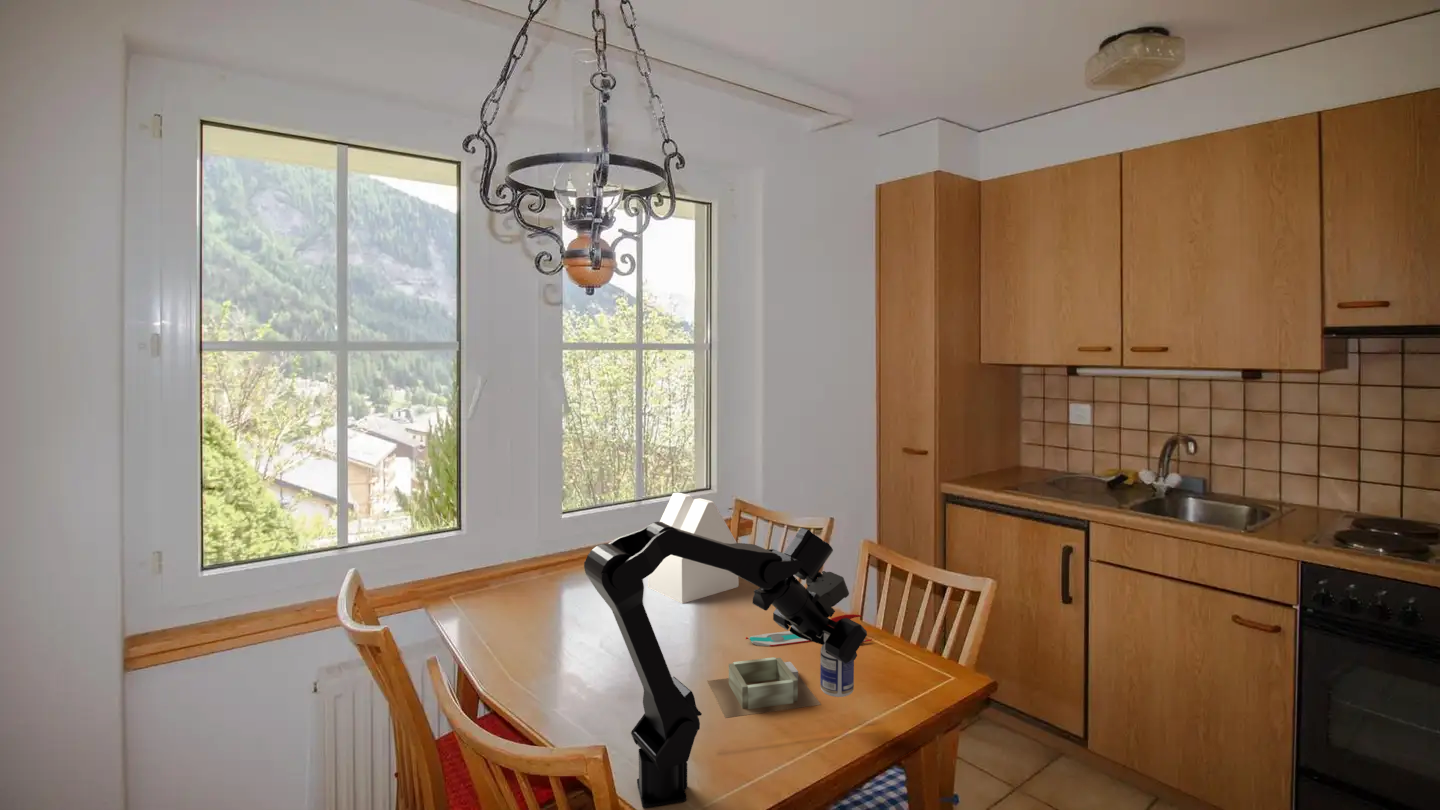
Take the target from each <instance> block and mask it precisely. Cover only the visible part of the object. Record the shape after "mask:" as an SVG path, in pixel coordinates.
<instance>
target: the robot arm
mask: <svg viewBox="0 0 1440 810" xmlns="http://www.w3.org/2000/svg"><path fill="white" fill-rule="evenodd" d="M833 552H834V549H833V548H832V546H831V545H830V544H829V542H827V541H824V540H823V539H822V538H820V537H819V536H818V535H816V534H814V533H813V532H812V531H811V530H810V529H808V528H805V527H800V528H799V530H798V531H797V533H796V535H795V537H794V538H793V540H792V541H791V542H790V544H789V545H788V546H787V548H786V549H785V551H784V552H781V551H779V550H777V549H774V548H770V549H767V548H765V547H761V546H759V545H757V544H755V543H754V544H753V543H744V542H743V543H742V542H737V543H734V544H728V543H723V542H719V541H716V540H713V539H710V538H706V537H703V536H700V535H696V534H693V533H690V532H687V531H683V530H680V529H677V528H674V527H671V526H669V525H667V524H665V523H663V522H660V521H655V522H654V521H653V522H651V523H649V524H648V525H646V526H644V527H643V528H641V529H639V530H635V531H633V532H631V533H630V532H629V533H627V534H624V535H621V536H619V537H617V538H615V539H613V540H611V541H610V542H608V543H600V544H598V545H596V546H594V547H593V548H592V549H591V550H590V552H589V553H588V554H587V557H586V559H585V560H584V563H583V568H584V572H585V575H586V576H587V578H588V579H589V581H590V582H591V584H592V585H593V587H594V589H595V591H596V592H597V593H598V594H599V596H601V598H602V599H603V601H604V602H605V603H606V604H607V606H608V607H609V609H610V610H611V611H612V614H613V616H614V619H615V621H616V624H617V626H618V629H619V631H620V634H621V635H622V638H623V641H624V643H625V645H626V646H625V647H626V648H627V651H628V654H629V655H630V658H631V661H632V663H633V665H634V668H635V671H636V672H637V676H638V677H639V681H640V683H641V685H642V688H643V697H642V705H643V711H644V714H643V715H642V717H641V718H640V719H639V720H638V721H637V723H636V724H635V725H634V727H633V729H632V730H631V732H630V734H631V737H632V740H633V741H634V744H635V745H637V746H638V747H639V749H638V778H637V779H636V784H637V789H638V794H639V798H640V799H639V800H640V803H641V807H642V808H647V809H648V808H651V807H659V806H665V805H669V804H676V803H683V802H686V801H687V793H686V790H687V789H688V761H689V760H690V755H691V752H692V749H693V746H694V741H695V739H696V736H697V734H698V731H699V730H700V729H701V722H700V718H699V716H700V717H701V716H702V712H701V711H700V710H699V709H698V707H697V705H696V699H695V695H694V693H693V691H692V690H691V689H690V688H688V687H687V686H686V685H685V684H684V683H682V682H681V681H680V680H679V679H678V678H676V677H675V676H672V674H671V672H670V670H669V669H670V668H669V667H668V664H667V662H666V659H665V657H664V654H663V652H662V648H661V646H660V644H659V642H658V639H657V636H656V633H655V632H654V628H653V625H652V624H651V621H650V619H649V616H648V613H647V611H646V608H645V606H644V591H645V585H644V579H645V578H648V576H649V575H650V574H652V573H653V572H654V571H655V569H656V568H657V567H658V566H659V565H660V563H661V562H662V561H663V560H664V559H665V558H666V557H668V556H669V555H674V556H678V557H681V558H685V559H689V560H692V561H696V562H699V563H703V564H706V565H710V566H713V567H717V568H720V569H724V570H728V571H729V572H731V573H733V574H735V575H737V576H739V578H741V579H742V580H745V581H747V582H748V583H751V584H752V585H755V586H756V587H758V588H757V589H754V590H753V597H752V604H753V605H754V606H756V607H758V608H759V609H762V610H764V611H768V610H769V608H770V607H771V605H772V606H773V607H774V608H775V610H774V611H773V612H772V613H773V615H772V620H773V621H774V623H776V624H777V626H779V627H781V628H783V629H784V630H785V631H790V632H791V633H793V634H794V635H796V636H798V637H800V638H803V639H806V640H809V641H812V642H811V643H816V644H818V645H821V646H823V645H824V644H825V650H826V653H827V654H829V655H831V656H833V657H834V658H836V659H838V660H840V661H842V662H843V663H848V662H850V660H853V661H854V662H855V660H856V659H857V657H858V654H857V652H858V650H859V649H860V647H861V645H862V642H863V641H864V640H866V638H867V636H868V633H867V630H866V629H865V627H864V626H862V625H861V624H860V623H858V622H856V621H854V620H852V619H848V618H844V619H840V620H839V621H837V622H835V621H833V620H831V617H832V618H833V616H834V613H835V612H836V610H835V609H834V608H833V607H834V606H836V605H838V604H839V603H840V602H841V601H842V600H844V599H846V598H847V597H848V596H849V595H850V592H849V589H848V586H847V584H846V581H845V579H844V576H841V575H839V574H837V573H835V572H833V571H825V570H822V571H821V572H820V570H821V569H822V568H823V567H824V565H825V564H826V562H827V560H828V559H829V558H830V556H831V554H832V553H833ZM795 576H796V577H795ZM797 577H798V578H799V579H800V580H803V581H805V584H806V587H805V586H804V585H803V584H802V583H801V582H800V581H799V580H798V579H797ZM829 617H830V618H829ZM828 625H829V626H828ZM830 626H831V627H830ZM824 633H826V634H828V635H830V636H829V637H828V639H827V640H826V642H824ZM863 643H864V642H863Z"/></svg>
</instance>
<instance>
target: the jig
mask: <svg viewBox="0 0 1440 810" xmlns="http://www.w3.org/2000/svg"><path fill="white" fill-rule="evenodd" d="M784 662H785V661H784V660H783V659H782V657H775V656H773V657H765V658H757V659H749V660H741V661H733V662H732V663H728V678H727V677H726V678H719V679H711V680H707V681H706V682H707V684H708V686H709V689H710V690H711V692H712V694H713V696H714V698H715V700H716V702H717V704H718V706H719V709H720V710H721V712H722V714H723V716H724V718H725V719H728V718H735V717H743V716H751V715H758V714H765V713H770V712H771V713H772V712H779V711H786V710H793V709H794V710H795V709H799V708H800V709H801V708H808V707H816V706H822V704H821V702H820V701H819V700H818V698H817V697H816V695H814V693H813V692H812V691H811V690H810V689H811V688H809V687H808V685H807V684H806V683H805V681H804V679H802V678H801V676H800V675H799V674H798V680H797V679H796V677H795V676H794V675H793V673H792V672H791V671H790V669H789V668H788V667H787V666H786V664H785V663H784Z"/></svg>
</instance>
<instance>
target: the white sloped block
mask: <svg viewBox="0 0 1440 810" xmlns="http://www.w3.org/2000/svg"><path fill="white" fill-rule="evenodd" d="M659 522H663V523H665V524H667V525H669V526H671V527H674V528H677V529H680V530H683V531H687V532H690V533H693V534H696V535H700V536H703V537H706V538H710V539H713V540H716V541H719V542H723V543H728V544H734V543H738V542H737V541H736V539H735V537H734V535H733V533H732V532H731V530H730V528H729V526H728V525H727V523H726V521H725V520H724V518H723V516H722V514H721V512H720V511H719V509H718V507H717V504H715V502H714V500H713V501H712V500H709V499H705V498H700V497H698V498H693V496H692V495H689V494H687V493H683V492H673V493H672V494H671V497H670V499H669V501H668V503H667V505H666V507H665V509H664V512H663V513H662V516H661V518H660V519H659ZM739 578H740V577H739V576H737V575H735V574H733V573H731V572H729V571H728V570H724V569H720V568H717V567H713V566H710V565H706V564H703V563H699V562H696V561H692V560H689V559H685V558H681V557H678V556H674V555H669V556H668V557H666V558H665V559H664V560H663V561H662V562H661V563H660V565H659V566H658V567H657V568H656V569H655V571H654V572H653V573H652V574H650V575H649V576H647V584H648V585H647V588H648V589H650V590H652V589H653V590H652V591H655V592H657V593H658V592H659V593H658V594H660V593H661V594H660V595H663V596H665V597H667V598H669V599H672V600H674V601H675V602H678V603H680V604H685V603H688V602H691V601H695V600H699V599H702V598H706V597H708V596H712V595H716V594H719V593H723V592H726V591H729V590H732V589H736V588H739V580H740V579H739Z"/></svg>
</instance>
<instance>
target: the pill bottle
mask: <svg viewBox="0 0 1440 810" xmlns="http://www.w3.org/2000/svg"><path fill="white" fill-rule="evenodd" d="M829 636H830V635H828V634H826V633H824V642H826V640H827V639H828V637H829ZM819 665H820V666H819V667H820V673H819V675H820V679H819V681H820V685H819V686H820V689H821V691H822V692H823V693H824V694H825V695H828V696H830V697H834V698H836V697H837V698H844V697H848V696H849V695H851V694H852V693H854V689H855V688H854V686H855V660H854V661H853V660H850V662H848V663H843V662H842V661H840V660H838V659H836V658H834V657H833V656H831V655H829V654H827V653H826V650H825V644H824V645H821V648H820V664H819Z"/></svg>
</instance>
